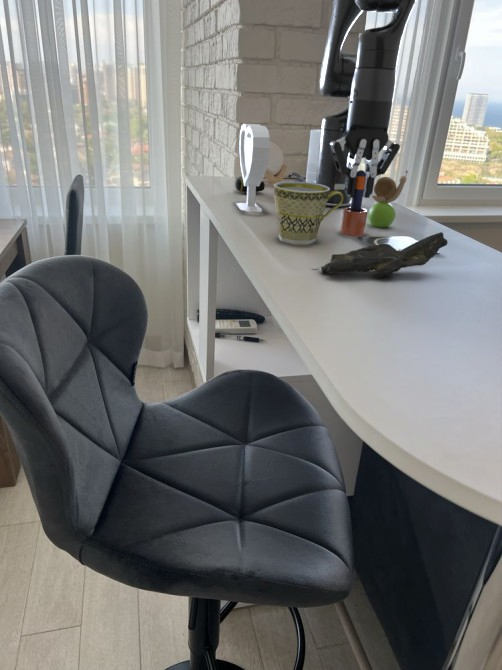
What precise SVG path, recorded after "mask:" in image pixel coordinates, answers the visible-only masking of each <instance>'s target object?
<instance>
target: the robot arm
mask: <svg viewBox="0 0 502 670" xmlns="http://www.w3.org/2000/svg"><path fill="white" fill-rule="evenodd" d="M416 2H417V0H333V2H332V9H331V15H330V21H329V26H328V31H327V35H326V36H327V37H326V41H325V46H324V50H323V55H322V61H321V67H320V72H319V81H318V88H319V93H320V95H321V96H323V97H325V98H332V99H334V98H336V99H348V102H347V105H345V106H344V107H343V108H341V109H338V110H337V111H335V112H332V113H331V112H330V113H328V114H325V115H324V116H323V117H322V119H321V124H320V130H321V134H320V144H319V154H318V163H317V173H316V181H315V183H316V184H321V185H325V186H327V187H329V188H330V192H331V191H340V192H341V193H342V194H343V202H342V204H341V205H340V206H339V207H338V208H346V207H350V206H351V202H352V198H354V194H355V187H356V179H357V178H355V176H356V173H357V171H359V170H358V169H359V166H360V165H361V163H362V159H364V160H363V162H364V165H365V166H364V172H365V173H366V180H365V187H364V192H363V198H364V199H369V198H370V197H371V196H372V194H373V193H374V184H375V180H376V177H377V176H381V175H382V176H383V175H385V174H386V172H387V170H388V169H389V167H390V165H392V162H393V161H394V159H395V158H396V155H397V153H399V151H400V149H401V145H400V143H395V142H393V141H392V140H390V139H389V132H388V130H389V127H390V121H391V115H392V109H393V103H394V98H395V90H396V89H395V88H396V81H397V68H398V62H399V55H400V50H401V45H402V41H403V40H402V39H403V36H404V33H405V31H406V28H407V24H408V22H409V19H410V16H411V14H412V12H413V9H414V7H415V5H416ZM363 12H370V13H392V17H391V19H390V21H389V22H388V23H387V24H385V25H382V26H378V27H372V28H368V29H365V30H363V31H362V32H360V35H359V38H358V42H357V43H358V44H357V52H343V51H342V47H343V44H344V42H345V40H346V37H347V36H348V33H349V31H350V30H351V28H352V26H353V25H354V24H355V22H356V21H357V19H358V18H359V17H360V15H361V14H362V13H363ZM382 150H383V153H382V155H381V157H380V158H379V154H380V152H381V151H382ZM291 173H292V172H291ZM293 176H294V177H296V178H298V179H295V180H293V181H294V182H304V178H303V177H302V176H301V174H299V173H297V172H294V171H293V173H292V175H290V173H288V174H287V178H292V177H293ZM340 201H341V196H340V195H339V194H335V195H333V196H331V197H330V198H329V200H328V201H327V203H326V206H325V207H332V208H333V207H335V206H336V205H338V204H339V203H340Z"/></svg>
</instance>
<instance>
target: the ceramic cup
mask: <svg viewBox="0 0 502 670" xmlns="http://www.w3.org/2000/svg"><path fill="white" fill-rule="evenodd" d="M335 194H339V195H340V196H341V201H340V203H339V204H338V205H336V206H335V207H332V208H330V209H329V210H328V211H327V212H326V213H325V209H326V207H327V206H326V203H327V201H328V200H329V198H330V197H331V196H333V195H335ZM273 195H274V204H275V210H276V222H277V233H278V239H279V240H280V241H281V242H283V243H287V244H291V245H310V244H313V243H315V242H316V241H317V238H318V233H319V230H320V226H321V224H322V222H323V220H324V219H326V218H327V217H329V215H330V214H331V213H333V211H335V210H336V209H338V208H340V207H339V206H340V205H341V204H342V202H343V194H342V193H341V192H340V191H331V192H330V188H329V187H327V186H325V185H321V184H316V183H309V182H306V181H302V182H294V180H292V181H279V182H276V183H274V184H273ZM324 213H325V214H324Z"/></svg>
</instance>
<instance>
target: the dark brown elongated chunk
mask: <svg viewBox="0 0 502 670" xmlns="http://www.w3.org/2000/svg"><path fill="white" fill-rule="evenodd" d="M444 236H445V235H444V232H442V231H440V232H436V233H433V234H432V235H429V236H426V237H425V238H422V239H419V240H417V241H418V242H416V243H414V244H412V245H410V246H408V247H406V248H404V249H403V250H401V251H397V250H395V249H394V248H393V247H392V246H391V245H389V244H380V245H375V246H365V247H361V248H357V249H353V250H350V251H348V252H347V253H339V254H337V253H335V254H332V255H331V258H330V261H329V262H327V263H325V265H323V266H320V270H321V272H322V274H329V273H333V274H343V273H346V274H347V273H355V272H356V273H360V272H361V273H368V272H373V273H372V274H373V275H374V277H377V278H379V279H380V278H383V277H385V276H388V275H391V274H394V273H397V272H398V271H400V270H401V269H403V268H408V267H420V266H421V267H422V266H424V265H427V263H428V262H429V261H430V260H431V259H432V258H434V257H435V256H436V255H437V254H436V253H437V252H439V250H440V249H441V248H444V247H446V246H447V245H448V243H449V242H448V239H446V238H445V237H444Z"/></svg>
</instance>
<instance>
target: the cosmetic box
mask: <svg viewBox="0 0 502 670" xmlns="http://www.w3.org/2000/svg"><path fill="white" fill-rule="evenodd" d="M320 134H321V129H310V134H309V144H308V153H307V154H308V155H307V165H306V175H305V182H309V183H315V181H316V173H317V163H318V154H319V144H320Z"/></svg>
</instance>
